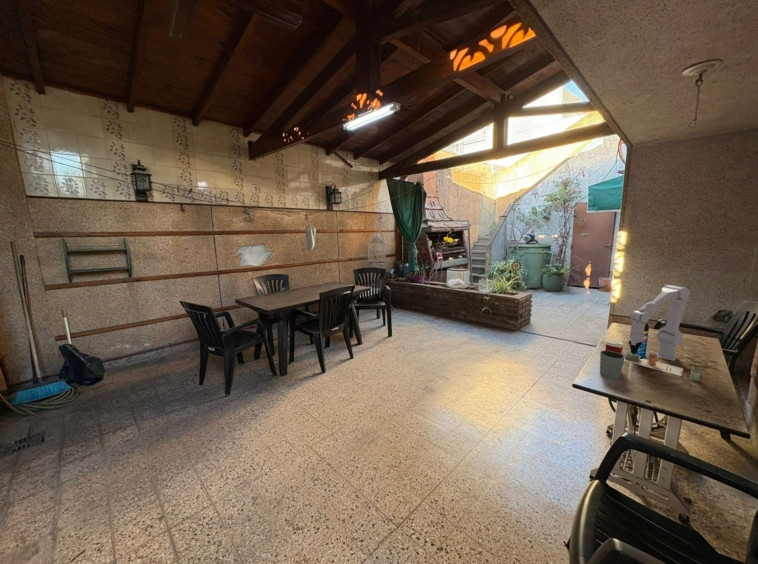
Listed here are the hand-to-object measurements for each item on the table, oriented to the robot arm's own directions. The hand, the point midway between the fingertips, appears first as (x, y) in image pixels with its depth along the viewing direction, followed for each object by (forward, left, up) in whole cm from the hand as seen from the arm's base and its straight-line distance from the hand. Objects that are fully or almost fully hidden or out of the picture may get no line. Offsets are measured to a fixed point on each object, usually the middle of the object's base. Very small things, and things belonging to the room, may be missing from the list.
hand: (633, 353), depth 169 cm
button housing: (0, 0, -4) cm, 4 cm away
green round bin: (+31, -5, -5) cm, 32 cm away
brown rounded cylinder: (0, +8, -4) cm, 9 cm away
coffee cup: (+19, -6, -5) cm, 21 cm away
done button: (0, 0, -3) cm, 3 cm away
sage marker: (+5, +25, -4) cm, 26 cm away
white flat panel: (0, +9, -4) cm, 10 cm away
